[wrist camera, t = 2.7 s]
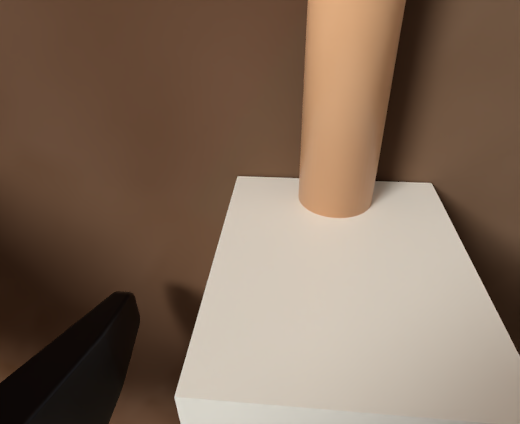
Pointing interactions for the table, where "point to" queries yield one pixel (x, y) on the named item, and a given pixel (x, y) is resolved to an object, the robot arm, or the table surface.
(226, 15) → the table surface
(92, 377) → the robot arm
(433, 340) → the white mallet
